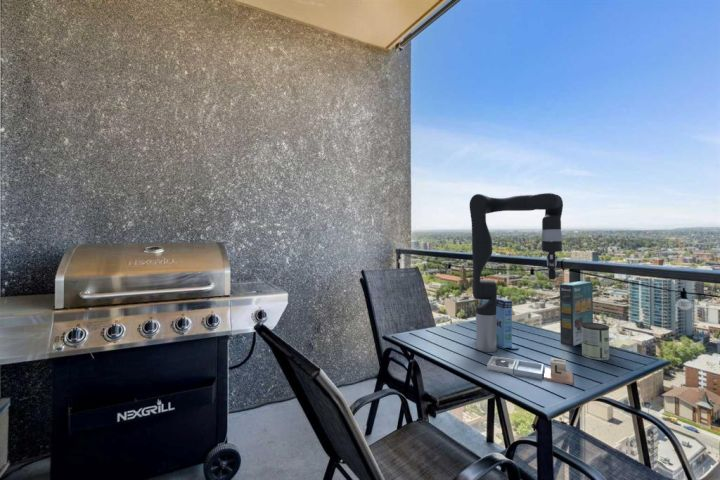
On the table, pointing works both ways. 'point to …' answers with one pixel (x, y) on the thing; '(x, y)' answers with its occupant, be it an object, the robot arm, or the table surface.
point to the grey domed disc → (502, 363)
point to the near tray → (493, 367)
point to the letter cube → (558, 367)
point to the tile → (558, 379)
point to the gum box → (503, 322)
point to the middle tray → (529, 369)
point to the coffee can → (595, 341)
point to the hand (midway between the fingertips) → (552, 278)
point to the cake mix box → (575, 310)
